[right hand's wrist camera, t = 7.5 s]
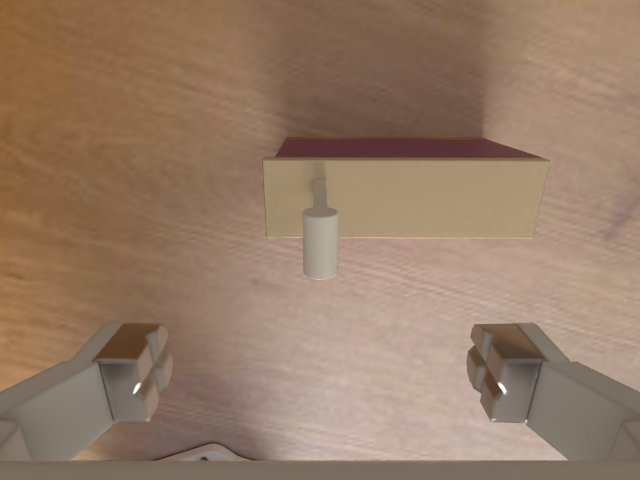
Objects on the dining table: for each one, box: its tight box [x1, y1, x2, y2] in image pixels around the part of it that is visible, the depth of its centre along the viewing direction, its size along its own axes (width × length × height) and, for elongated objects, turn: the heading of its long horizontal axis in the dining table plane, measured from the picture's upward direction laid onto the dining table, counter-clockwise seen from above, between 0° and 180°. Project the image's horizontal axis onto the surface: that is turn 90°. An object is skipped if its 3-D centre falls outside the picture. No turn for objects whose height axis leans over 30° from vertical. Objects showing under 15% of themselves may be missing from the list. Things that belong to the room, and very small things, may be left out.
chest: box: [275, 138, 542, 158], centre depth 28 cm, size 16×5×9 cm, turn 90°
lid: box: [262, 157, 550, 280], centre depth 20 cm, size 17×5×8 cm, turn 90°
